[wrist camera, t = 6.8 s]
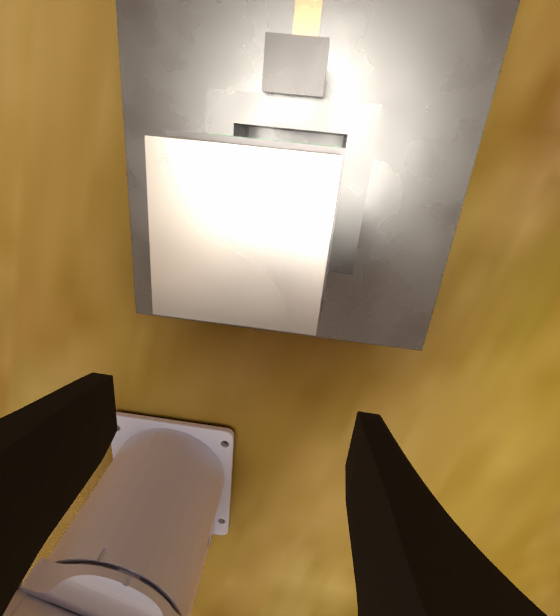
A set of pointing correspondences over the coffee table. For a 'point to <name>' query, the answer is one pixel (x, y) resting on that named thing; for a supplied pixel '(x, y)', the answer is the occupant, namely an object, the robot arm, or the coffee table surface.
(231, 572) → the coffee table surface
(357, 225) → the metal plate with socket
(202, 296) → the column
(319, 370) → the coffee table surface
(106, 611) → the robot arm
